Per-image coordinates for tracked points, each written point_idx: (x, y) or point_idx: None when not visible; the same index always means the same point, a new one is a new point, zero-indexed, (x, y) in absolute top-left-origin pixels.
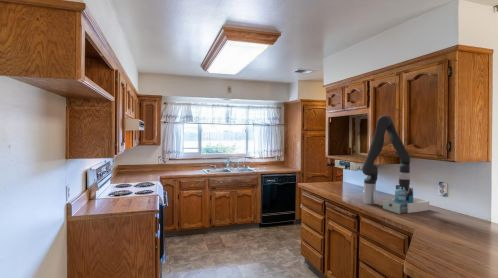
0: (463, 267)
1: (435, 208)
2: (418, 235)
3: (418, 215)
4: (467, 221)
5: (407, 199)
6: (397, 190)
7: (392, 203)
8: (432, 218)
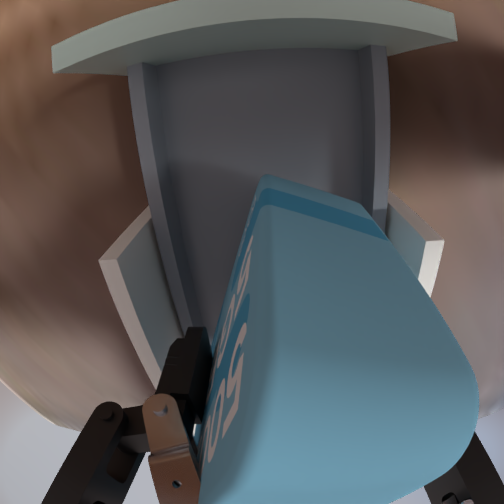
0: None
1: None
2: None
3: (73, 236)
4: (22, 371)
5: (177, 349)
6: (360, 435)
7: (203, 3)
8: (21, 273)
